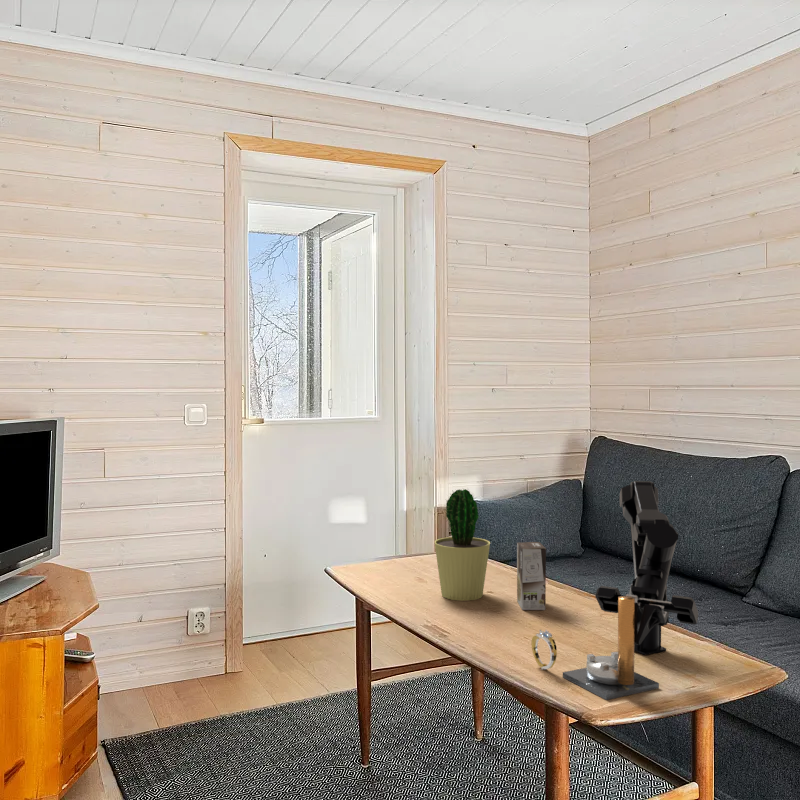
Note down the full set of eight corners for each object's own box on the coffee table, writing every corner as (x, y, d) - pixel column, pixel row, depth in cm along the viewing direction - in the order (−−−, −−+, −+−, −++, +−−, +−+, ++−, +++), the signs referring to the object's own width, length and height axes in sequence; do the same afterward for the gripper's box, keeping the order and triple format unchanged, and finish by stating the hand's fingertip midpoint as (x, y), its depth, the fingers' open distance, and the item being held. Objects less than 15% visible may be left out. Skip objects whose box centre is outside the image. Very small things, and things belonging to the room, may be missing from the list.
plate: (613, 667, 169) (613, 661, 169) (658, 688, 158) (658, 682, 158) (562, 677, 163) (562, 671, 163) (606, 700, 152) (606, 694, 152)
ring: (559, 673, 165) (559, 634, 165) (546, 675, 164) (546, 636, 164) (541, 662, 172) (541, 625, 172) (528, 664, 171) (528, 626, 171)
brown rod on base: (578, 670, 164) (579, 586, 163) (618, 666, 166) (619, 583, 166) (608, 692, 152) (608, 602, 152) (651, 687, 154) (651, 598, 154)
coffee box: (546, 610, 211) (546, 548, 210) (521, 610, 211) (521, 548, 210) (540, 600, 220) (540, 541, 219) (516, 600, 220) (516, 541, 219)
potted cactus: (489, 588, 232) (490, 483, 232) (490, 603, 217) (490, 491, 216) (435, 587, 234) (435, 483, 233) (432, 602, 219) (432, 490, 218)
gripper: (708, 601, 163) (695, 673, 155) (616, 589, 174) (599, 655, 165) (698, 570, 157) (684, 643, 148) (604, 559, 167) (585, 627, 158)
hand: (637, 643), depth 155 cm, fingers closed
